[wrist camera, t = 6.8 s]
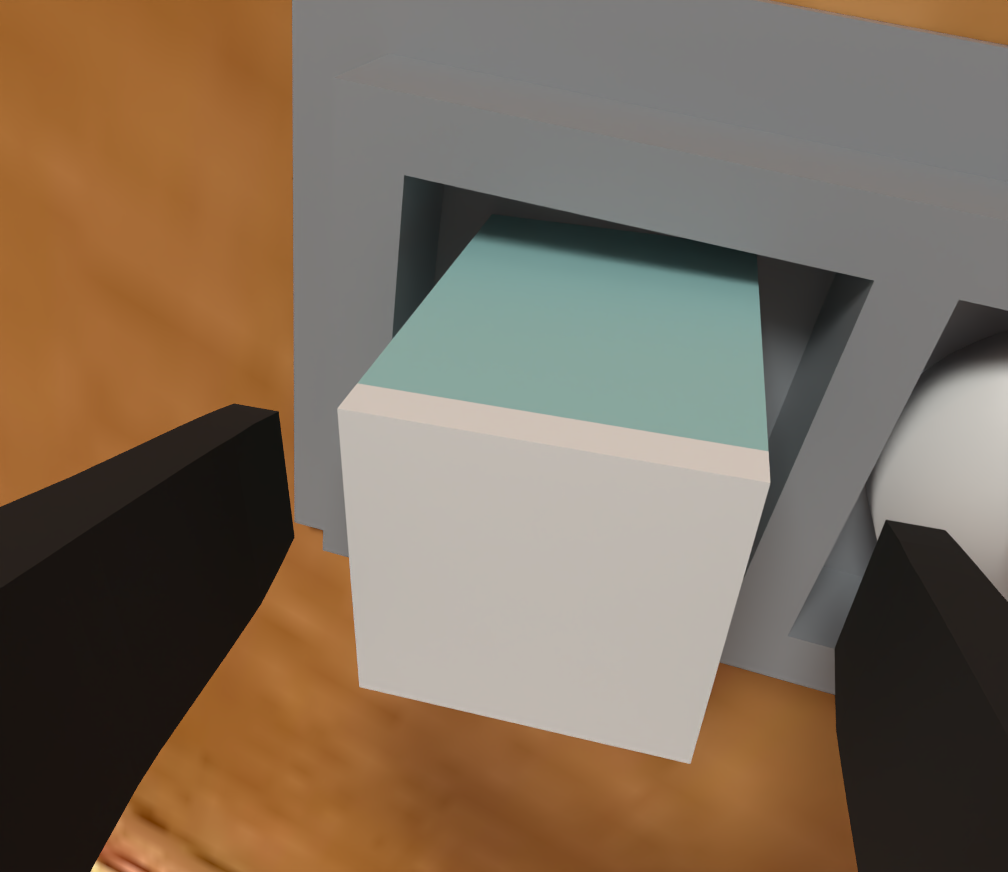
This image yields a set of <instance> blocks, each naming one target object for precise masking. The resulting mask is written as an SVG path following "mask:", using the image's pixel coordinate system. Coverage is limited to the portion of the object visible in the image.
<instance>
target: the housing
mask: <svg viewBox="0 0 1008 872" xmlns="http://www.w3.org/2000/svg"><path fill="white" fill-rule="evenodd" d="M292 45H293V266H294V487H295V522H296V523H299V524H303V525H306V526H310V527H314V528H317V529H321V530H323V550H324V551H328V552H332V553H335V554H339V555H342V556H346V557H349V550H348V537H347V525H346V512H345V500H344V487H343V475H342V462H341V450H340V437H339V425H338V412H337V408H338V407H339V406H340V404H341V403H342V402H343V401H344V399H345V398H346V397H347V396H348V394H349V393H350V392H351V391H352V389H353V388H354V387H355V386H356V384H357V383H358V382H359V381H360V379H361V378H362V377H363V376H364V374H365V373H366V372H367V371H368V369H369V368H370V367H371V366H372V364H373V363H374V362H375V361H376V359H377V358H378V357H379V355H380V354H381V353H382V352H383V350H384V349H385V348H386V347H387V345H388V344H389V343H390V342H391V340H392V339H393V338H394V337H395V335H396V334H397V333H398V332H399V330H400V329H401V328H402V327H403V325H404V324H405V323H406V322H407V320H408V319H409V318H410V317H411V315H412V314H413V313H414V312H415V310H416V309H417V308H418V307H419V305H420V304H421V303H422V302H423V300H424V299H425V298H426V297H427V295H428V294H429V293H430V292H431V290H432V289H433V288H434V286H435V285H436V284H437V283H438V281H439V280H440V279H441V278H442V276H443V275H444V274H445V273H446V271H447V270H448V269H449V268H450V266H451V265H452V264H453V263H454V261H455V260H456V259H457V258H458V256H459V255H460V254H461V253H462V251H463V250H464V249H465V248H466V246H467V245H468V244H469V243H470V241H471V240H472V239H473V238H474V236H475V235H476V234H477V233H478V231H479V230H480V229H481V228H482V226H483V225H484V224H485V223H486V221H487V220H488V219H489V218H490V216H491V215H492V214H495V215H503V216H511V217H519V218H527V219H535V220H543V221H551V222H560V223H568V224H576V225H584V226H592V227H600V228H608V229H616V230H624V231H632V232H640V233H648V234H656V235H664V236H672V237H680V238H687V239H691V240H696V241H700V242H704V243H709V244H713V245H718V246H722V247H727V248H731V249H736V250H740V251H745V252H749V253H753V254H757V268H758V285H759V301H760V318H761V334H762V351H763V368H764V384H765V401H766V417H767V434H768V451H769V467H770V486H769V490H768V493H767V497H766V500H765V504H764V507H763V511H762V514H761V518H760V521H759V525H758V528H757V532H756V535H755V539H754V542H753V546H752V549H751V553H750V556H749V560H748V563H747V567H746V570H745V574H744V577H743V581H742V584H741V588H740V591H739V595H738V598H737V602H736V605H735V609H734V612H733V616H732V619H731V623H730V626H729V630H728V634H727V637H726V641H725V644H724V648H723V651H722V655H721V658H720V663H724V664H727V665H731V666H734V667H738V668H742V669H745V670H749V671H752V672H756V673H759V674H763V675H766V676H770V677H773V678H777V679H780V680H784V681H787V682H791V683H795V684H798V685H802V686H805V687H809V688H812V689H816V690H819V691H823V692H826V693H830V694H833V695H835V646H836V643H837V641H838V638H839V636H840V633H841V631H842V628H843V626H844V623H845V621H846V618H847V616H848V613H849V611H850V608H851V606H852V603H853V601H854V598H855V596H856V593H857V591H858V588H859V586H860V583H861V581H862V578H863V576H864V573H865V571H866V568H867V566H868V563H869V561H870V558H871V556H872V553H873V551H874V548H875V546H876V543H877V541H878V538H879V535H880V533H881V530H882V528H883V525H884V523H885V520H891V521H897V522H903V523H908V524H914V525H920V526H925V527H931V528H937V529H942V530H946V531H947V532H948V533H949V535H950V536H951V537H952V538H953V539H954V540H955V541H956V542H957V543H958V544H959V545H960V547H961V548H962V549H963V550H964V551H965V552H966V553H967V555H968V556H969V557H970V558H971V559H972V560H973V562H974V563H975V564H976V565H977V566H978V567H979V569H980V570H981V571H982V572H983V573H984V574H985V576H986V577H987V578H988V579H989V580H990V581H991V583H992V584H993V585H994V586H995V587H996V589H997V590H998V591H999V592H1000V593H1001V594H1002V596H1003V597H1004V598H1005V599H1006V600H1007V601H1008V45H1003V44H998V43H993V42H987V41H982V40H977V39H971V38H966V37H961V36H955V35H950V34H945V33H940V32H934V31H929V30H924V29H918V28H913V27H908V26H902V25H897V24H892V23H887V22H881V21H876V20H871V19H865V18H860V17H855V16H849V15H844V14H839V13H834V12H828V11H823V10H818V9H812V8H807V7H802V6H796V5H791V4H786V3H781V2H775V1H770V0H292Z"/></svg>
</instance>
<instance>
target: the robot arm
mask: <svg viewBox="0 0 1008 872" xmlns="http://www.w3.org/2000/svg"><path fill="white" fill-rule="evenodd" d="M293 539H294V530H293V522H292V514H291V506H290V498H289V490H288V482H287V474H286V467H285V459H284V451H283V443H282V435H281V427H280V419H279V412H278V411H273V410H267V409H261V408H256V407H250V406H244V405H239V404H232V405H229V406H227V407H224V408H221V409H218V410H216V411H213V412H211V413H209V414H206V415H204V416H202V417H199V418H197V419H195V420H193V421H190V422H188V423H186V424H184V425H182V426H179V427H177V428H175V429H173V430H171V431H169V432H166V433H164V434H162V435H160V436H158V437H156V438H154V439H151V440H149V441H147V442H145V443H143V444H141V445H139V446H137V447H134V448H132V449H130V450H128V451H126V452H124V453H121V454H119V455H117V456H115V457H113V458H111V459H109V460H106V461H104V462H102V463H100V464H98V465H96V466H94V467H91V468H89V469H87V470H85V471H83V472H81V473H78V474H76V475H74V476H72V477H70V478H67V479H65V480H63V481H60V482H58V483H56V484H53V485H51V486H49V487H46V488H44V489H42V490H39V491H37V492H34V493H32V494H30V495H27V496H25V497H23V498H20V499H18V500H16V501H13V502H11V503H9V504H6V505H4V506H2V507H0V872H90V871H91V869H92V867H93V866H94V864H95V862H96V860H97V858H98V857H99V855H100V853H101V851H102V849H103V848H104V846H105V844H106V842H107V840H108V839H109V837H110V835H111V833H112V831H113V830H114V828H115V826H116V824H117V822H118V821H119V819H120V817H121V815H122V813H123V812H124V810H125V808H126V806H127V804H128V803H129V801H130V799H131V797H132V795H133V794H134V792H135V790H136V788H137V787H138V785H139V783H140V782H141V780H142V779H143V777H144V775H145V774H146V772H147V771H148V769H149V768H150V766H151V764H152V763H153V761H154V760H155V758H156V757H157V755H158V753H159V752H160V750H161V749H162V747H163V746H164V745H165V743H166V742H167V740H168V739H169V737H170V736H171V734H172V733H173V732H174V730H175V729H176V727H177V726H178V724H179V723H180V721H181V720H182V719H183V717H184V716H185V714H186V713H187V711H188V710H189V708H190V707H191V706H192V704H193V703H194V701H195V700H196V698H197V697H198V695H199V694H200V693H201V691H202V690H203V688H204V687H205V685H206V684H207V683H208V681H209V680H210V678H211V677H212V675H213V674H214V672H215V671H216V670H217V668H218V667H219V665H220V664H221V662H222V661H223V659H224V658H225V657H226V655H227V654H228V652H229V651H230V649H231V648H232V646H233V645H234V643H235V642H236V640H237V639H238V638H239V636H240V635H241V633H242V632H243V630H244V629H245V627H246V626H247V624H248V623H249V621H250V620H251V618H252V617H253V615H254V614H255V612H256V611H257V609H258V608H259V606H260V605H261V603H262V601H263V599H264V597H265V595H266V594H267V592H268V590H269V588H270V586H271V584H272V582H273V580H274V578H275V576H276V574H277V572H278V570H279V568H280V566H281V564H282V562H283V560H284V558H285V556H286V554H287V552H288V550H289V548H290V545H291V543H292V541H293ZM835 705H836V732H837V739H838V746H839V753H840V759H841V766H842V772H843V779H844V785H845V792H846V799H847V805H848V811H849V817H850V824H851V830H852V836H853V842H854V848H855V855H856V861H857V867H858V872H1008V601H1007V600H1006V599H1005V598H1004V597H1003V596H1002V594H1001V593H1000V592H999V591H998V590H997V589H996V587H995V586H994V585H993V584H992V583H991V581H990V580H989V579H988V578H987V577H986V576H985V574H984V573H983V572H982V571H981V570H980V569H979V567H978V566H977V565H976V564H975V563H974V562H973V560H972V559H971V558H970V557H969V556H968V555H967V553H966V552H965V551H964V550H963V549H962V548H961V547H960V545H959V544H958V543H957V542H956V541H955V540H954V539H953V538H952V537H951V536H950V535H949V533H948V532H947V531H946V530H942V529H937V528H931V527H925V526H920V525H914V524H908V523H903V522H897V521H891V520H885V523H884V525H883V528H882V530H881V533H880V535H879V538H878V541H877V543H876V546H875V548H874V551H873V553H872V556H871V558H870V561H869V563H868V566H867V568H866V571H865V573H864V576H863V578H862V581H861V583H860V586H859V588H858V591H857V593H856V596H855V598H854V601H853V603H852V606H851V608H850V611H849V613H848V616H847V618H846V621H845V623H844V626H843V628H842V631H841V633H840V636H839V638H838V641H837V643H836V646H835Z"/></svg>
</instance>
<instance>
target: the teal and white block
mask: <svg viewBox="0 0 1008 872" xmlns="http://www.w3.org/2000/svg"><path fill="white" fill-rule="evenodd" d="M337 412H338V425H339V437H340V450H341V462H342V475H343V487H344V500H345V512H346V525H347V537H348V550H349V562H350V575H351V588H352V600H353V613H354V625H355V638H356V650H357V663H358V675H359V687H362V688H366V689H370V690H375V691H379V692H383V693H388V694H392V695H396V696H401V697H405V698H409V699H413V700H418V701H422V702H426V703H431V704H435V705H439V706H443V707H448V708H452V709H456V710H461V711H465V712H469V713H474V714H478V715H482V716H486V717H491V718H495V719H499V720H504V721H508V722H512V723H517V724H521V725H525V726H529V727H534V728H538V729H542V730H547V731H551V732H555V733H560V734H564V735H568V736H572V737H577V738H581V739H585V740H590V741H594V742H598V743H603V744H607V745H611V746H615V747H620V748H624V749H628V750H633V751H637V752H641V753H645V754H650V755H654V756H658V757H663V758H667V759H671V760H676V761H680V762H684V763H688V764H690V763H691V760H692V756H693V753H694V749H695V746H696V742H697V739H698V735H699V732H700V728H701V725H702V721H703V718H704V714H705V711H706V707H707V704H708V700H709V697H710V693H711V690H712V686H713V683H714V679H715V676H716V672H717V669H718V665H719V662H720V658H721V655H722V651H723V648H724V644H725V641H726V637H727V634H728V630H729V626H730V623H731V619H732V616H733V612H734V609H735V605H736V602H737V598H738V595H739V591H740V588H741V584H742V581H743V577H744V574H745V570H746V567H747V563H748V560H749V556H750V553H751V549H752V546H753V542H754V539H755V535H756V532H757V528H758V525H759V521H760V518H761V514H762V511H763V507H764V504H765V500H766V497H767V493H768V490H769V486H770V467H769V451H768V434H767V417H766V401H765V384H764V368H763V351H762V334H761V318H760V301H759V285H758V268H757V254H753V253H749V252H745V251H740V250H736V249H731V248H727V247H722V246H718V245H713V244H709V243H704V242H700V241H696V240H691V239H687V238H680V237H672V236H664V235H656V234H648V233H640V232H632V231H624V230H616V229H608V228H600V227H592V226H584V225H576V224H568V223H560V222H551V221H543V220H535V219H527V218H519V217H511V216H503V215H495V214H492V215H491V216H490V218H489V219H488V220H487V221H486V223H485V224H484V225H483V226H482V228H481V229H480V230H479V231H478V233H477V234H476V235H475V236H474V238H473V239H472V240H471V241H470V243H469V244H468V245H467V246H466V248H465V249H464V250H463V251H462V253H461V254H460V255H459V256H458V258H457V259H456V260H455V261H454V263H453V264H452V265H451V266H450V268H449V269H448V270H447V271H446V273H445V274H444V275H443V276H442V278H441V279H440V280H439V281H438V283H437V284H436V285H435V286H434V288H433V289H432V290H431V292H430V293H429V294H428V295H427V297H426V298H425V299H424V300H423V302H422V303H421V304H420V305H419V307H418V308H417V309H416V310H415V312H414V313H413V314H412V315H411V317H410V318H409V319H408V320H407V322H406V323H405V324H404V325H403V327H402V328H401V329H400V330H399V332H398V333H397V334H396V335H395V337H394V338H393V339H392V340H391V342H390V343H389V344H388V345H387V347H386V348H385V349H384V350H383V352H382V353H381V354H380V355H379V357H378V358H377V359H376V361H375V362H374V363H373V364H372V366H371V367H370V368H369V369H368V371H367V372H366V373H365V374H364V376H363V377H362V378H361V379H360V381H359V382H358V383H357V384H356V386H355V387H354V388H353V389H352V391H351V392H350V393H349V394H348V396H347V397H346V398H345V399H344V401H343V402H342V403H341V404H340V406H339V407H338V408H337Z"/></svg>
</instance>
